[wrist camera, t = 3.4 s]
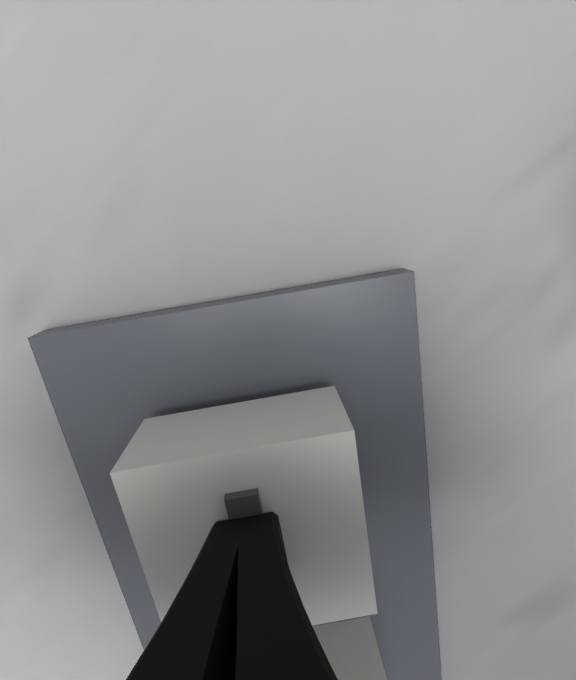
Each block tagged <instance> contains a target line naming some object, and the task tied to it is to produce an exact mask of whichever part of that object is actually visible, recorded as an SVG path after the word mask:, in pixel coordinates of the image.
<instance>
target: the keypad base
mask: <svg viewBox="0 0 576 680" xmlns="http://www.w3.org/2000/svg"><path fill="white" fill-rule="evenodd" d="M28 340H29V343H30V346H31V348H32V351H33V354H34V356H35V359H36V362H37V365H38V367H39V370H40V373H41V375H42V378H43V381H44V383H45V386H46V389H47V391H48V394H49V397H50V399H51V402H52V405H53V407H54V410H55V413H56V415H57V418H58V421H59V424H60V426H61V429H62V432H63V434H64V437H65V440H66V442H67V445H68V448H69V450H70V453H71V456H72V458H73V461H74V464H75V466H76V469H77V472H78V474H79V477H80V480H81V483H82V485H83V488H84V491H85V493H86V496H87V499H88V501H89V504H90V507H91V509H92V512H93V515H94V517H95V520H96V523H97V525H98V528H99V531H100V533H101V536H102V539H103V542H104V544H105V547H106V550H107V552H108V555H109V558H110V560H111V563H112V566H113V568H114V571H115V574H116V576H117V579H118V582H119V584H120V587H121V590H122V592H123V595H124V598H125V601H126V603H127V606H128V609H129V611H130V614H131V617H132V619H133V622H134V625H135V627H136V630H137V633H138V635H139V638H140V641H141V643H142V646H143V649H144V650H145V648H146V647H147V645H148V644H149V642H150V640H151V639H152V637H153V635H154V634H155V632H156V630H157V629H158V627H159V625H160V624H161V620H160V618H159V615H158V612H157V609H156V606H155V603H154V600H153V597H152V594H151V591H150V589H149V586H148V583H147V580H146V577H145V574H144V571H143V568H142V565H141V562H140V560H139V557H138V554H137V551H136V548H135V545H134V542H133V539H132V536H131V534H130V531H129V528H128V525H127V522H126V519H125V516H124V513H123V510H122V507H121V505H120V502H119V499H118V496H117V493H116V490H115V487H114V484H113V481H112V479H111V476H110V472H111V470H112V469H113V467H114V466H115V464H116V462H117V461H118V459H119V458H120V456H121V455H122V453H123V451H124V450H125V448H126V447H127V445H128V444H129V442H130V441H131V439H132V437H133V436H134V434H135V433H136V431H137V430H138V428H139V427H140V425H141V423H142V422H143V420H144V419H146V418H152V417H158V416H163V415H169V414H175V413H181V412H186V411H192V410H198V409H204V408H209V407H215V406H221V405H226V404H232V403H238V402H244V401H249V400H255V399H261V398H267V397H272V396H278V395H284V394H290V393H295V392H301V391H307V390H312V389H318V388H324V387H330V386H335V388H336V390H337V393H338V395H339V397H340V399H341V402H342V404H343V406H344V408H345V410H346V413H347V415H348V417H349V419H350V422H351V424H352V426H353V428H354V432H355V440H356V448H357V455H358V463H359V471H360V479H361V487H362V495H363V503H364V511H365V519H366V526H367V534H368V542H369V550H370V558H371V566H372V574H373V582H374V589H375V597H376V605H377V613H378V614H374V615H368V616H370V619H371V623H372V626H373V630H374V634H375V637H376V641H377V645H378V648H379V652H380V656H381V659H382V663H383V667H384V670H385V674H386V678H387V680H442V677H441V663H440V648H439V633H438V618H437V603H436V589H435V574H434V559H433V544H432V530H431V515H430V500H429V485H428V470H427V456H426V441H425V426H424V411H423V397H422V382H421V367H420V352H419V337H418V323H417V308H416V293H415V278H414V271H410V270H407V269H398V270H392V271H386V272H380V273H374V274H368V275H363V276H357V277H351V278H345V279H339V280H333V281H328V282H322V283H316V284H310V285H304V286H298V287H293V288H287V289H281V290H275V291H269V292H264V293H258V294H252V295H246V296H240V297H234V298H229V299H223V300H217V301H211V302H205V303H199V304H194V305H188V306H182V307H176V308H170V309H164V310H159V311H153V312H147V313H141V314H135V315H129V316H124V317H118V318H112V319H106V320H100V321H94V322H89V323H83V324H77V325H71V326H65V327H59V328H54V329H48V330H44V331H42V332H39V333H37V334H35V335H33V336H31V337H28ZM368 616H363V617H368ZM363 617H357V618H363ZM357 618H352V619H357ZM352 619H346V620H352ZM346 620H341V621H346ZM341 621H335V622H341ZM335 622H329V623H324V624H330V623H335ZM324 624H318V625H313V626H319V625H324ZM313 626H312V627H313Z"/></svg>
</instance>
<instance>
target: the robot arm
mask: <svg viewBox="0 0 576 680" xmlns="http://www.w3.org/2000/svg"><path fill="white" fill-rule="evenodd" d="M126 680H338V679H337V677H336V675H335V673H334V671H333V669H332V667H331V665H330V663H329V661H328V659H327V657H326V655H325V652H324V650H323V648H322V646H321V644H320V642H319V639H318V637H317V635H316V633H315V631H314V629H313V627H312V624H311V622H310V620H309V617H308V615H307V613H306V610H305V608H304V606H303V603H302V600H301V598H300V595H299V593H298V590H297V588H296V585H295V583H294V580H293V577H292V575H291V572H290V569H289V565H288V560H287V556H286V551H285V546H284V541H283V536H282V531H281V526H280V522H279V517H278V515H277V514H275V513H274V512H267V513H262V514H259V515H254V516H248V517H242V518H237V519H231V520H229V519H228V520H222V521H217V522H215V524H214V525H213V526H212V528H211V530H210V532H209V534H208V536H207V538H206V540H205V542H204V544H203V546H202V548H201V550H200V552H199V554H198V556H197V558H196V560H195V562H194V564H193V566H192V568H191V570H190V571H189V573H188V575H187V577H186V579H185V581H184V583H183V585H182V586H181V588H180V590H179V592H178V594H177V595H176V597H175V599H174V601H173V602H172V604H171V606H170V608H169V610H168V611H167V613H166V615H165V617H164V618H163V620H162V622H161V624H160V625H159V627H158V629H157V630H156V632H155V634H154V635H153V637H152V639H151V640H150V642H149V644H148V645H147V647H146V648H145V650H144V652H143V653H142V655H141V656H140V658H139V660H138V661H137V663H136V665H135V666H134V668H133V669H132V671H131V673H130V674H129V676H128V678H127V679H126Z"/></svg>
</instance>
